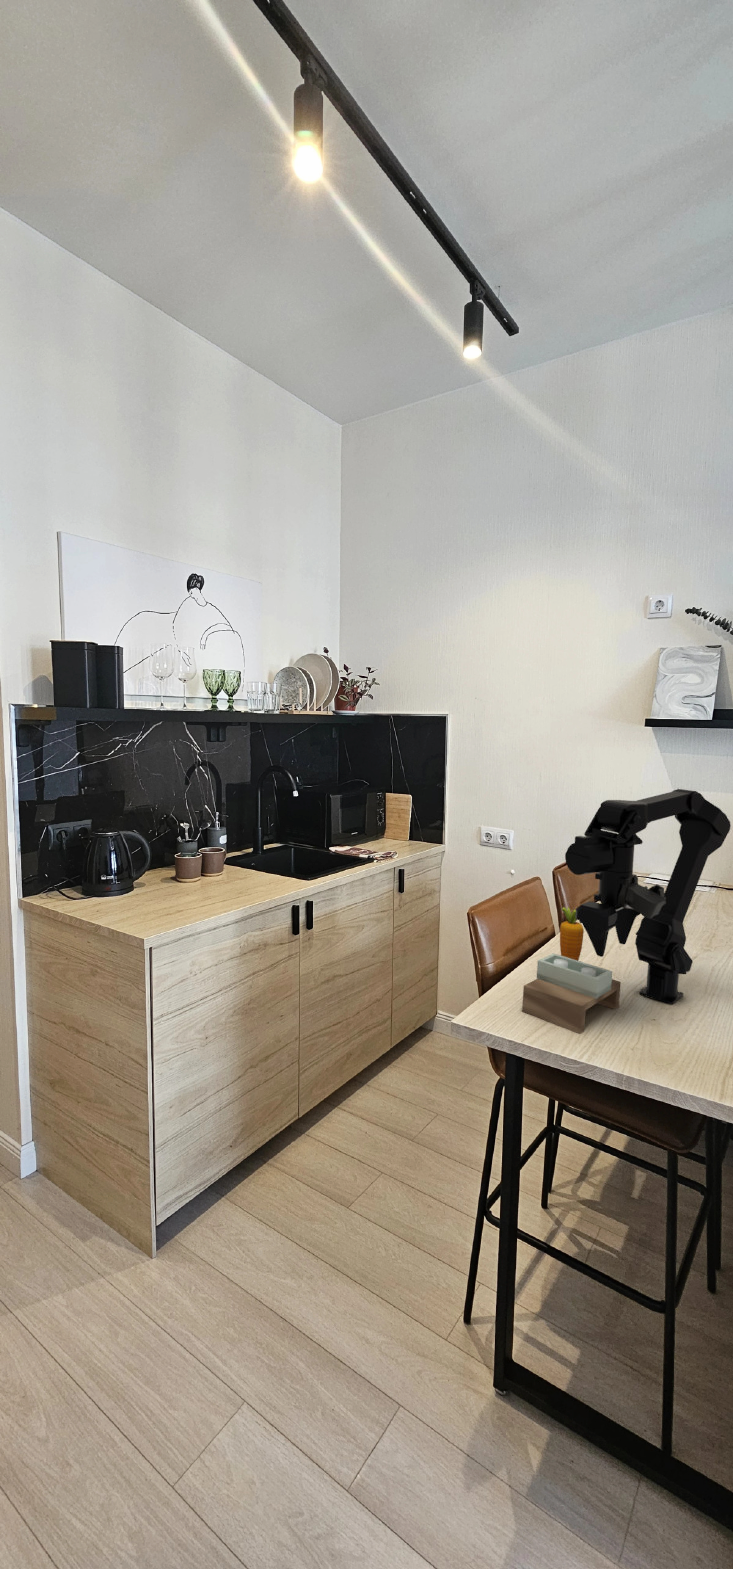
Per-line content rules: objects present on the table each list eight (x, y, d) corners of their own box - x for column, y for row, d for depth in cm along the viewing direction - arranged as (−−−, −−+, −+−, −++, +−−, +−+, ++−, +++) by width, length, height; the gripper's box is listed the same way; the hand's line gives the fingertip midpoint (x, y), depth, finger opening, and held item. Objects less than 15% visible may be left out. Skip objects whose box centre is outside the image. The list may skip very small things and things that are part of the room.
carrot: (553, 974, 142) (558, 906, 140) (560, 967, 146) (565, 901, 144) (576, 980, 139) (582, 910, 137) (583, 973, 143) (588, 905, 141)
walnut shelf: (563, 988, 134) (565, 964, 134) (618, 1006, 127) (620, 981, 126) (522, 1011, 123) (523, 985, 123) (579, 1033, 115) (581, 1006, 115)
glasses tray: (552, 970, 131) (553, 953, 130) (611, 989, 122) (612, 971, 122) (536, 978, 126) (537, 960, 126) (596, 998, 118) (597, 979, 118)
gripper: (638, 886, 110) (632, 976, 112) (680, 868, 123) (674, 949, 125) (576, 874, 118) (571, 958, 120) (622, 858, 131) (617, 934, 133)
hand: (611, 949), depth 124 cm, fingers open, 9 cm apart
